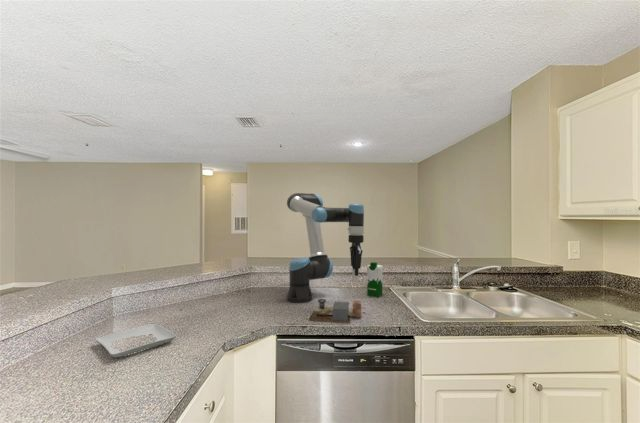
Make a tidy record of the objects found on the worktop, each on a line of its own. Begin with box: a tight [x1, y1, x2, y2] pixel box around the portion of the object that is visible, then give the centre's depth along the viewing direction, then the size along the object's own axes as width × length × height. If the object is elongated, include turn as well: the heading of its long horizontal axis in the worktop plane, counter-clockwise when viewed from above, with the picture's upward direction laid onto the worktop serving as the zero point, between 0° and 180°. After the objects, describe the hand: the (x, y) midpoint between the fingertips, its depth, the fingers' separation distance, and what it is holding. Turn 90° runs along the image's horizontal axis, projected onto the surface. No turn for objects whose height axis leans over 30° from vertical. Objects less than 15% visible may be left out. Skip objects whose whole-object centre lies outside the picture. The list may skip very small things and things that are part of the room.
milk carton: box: [366, 261, 384, 298], centre depth 178 cm, size 9×9×20 cm
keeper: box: [308, 298, 352, 324], centre depth 138 cm, size 19×12×7 cm, turn 82°
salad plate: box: [95, 322, 178, 358], centre depth 109 cm, size 21×21×3 cm
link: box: [316, 300, 362, 318], centre depth 140 cm, size 22×5×6 cm, turn 81°
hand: (355, 281), depth 145 cm, fingers closed
